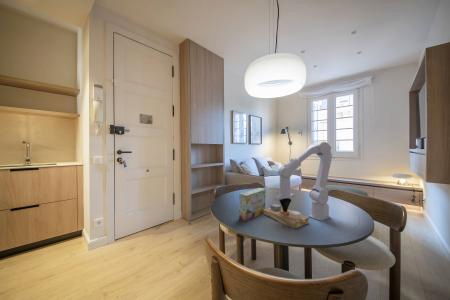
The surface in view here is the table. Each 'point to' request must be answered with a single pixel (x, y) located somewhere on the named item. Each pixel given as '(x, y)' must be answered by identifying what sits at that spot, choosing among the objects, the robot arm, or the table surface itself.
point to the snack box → (251, 204)
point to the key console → (286, 218)
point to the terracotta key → (284, 212)
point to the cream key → (295, 215)
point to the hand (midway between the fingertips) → (285, 211)
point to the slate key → (276, 207)
